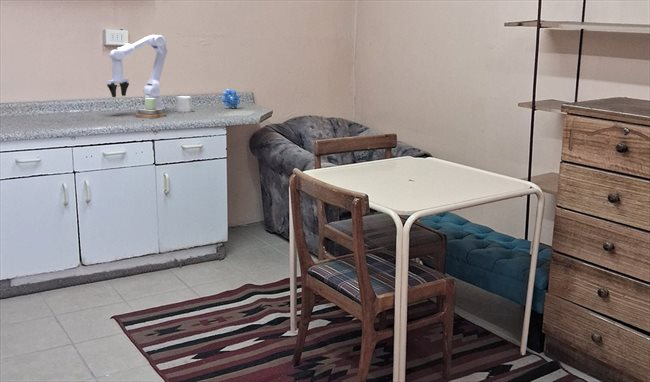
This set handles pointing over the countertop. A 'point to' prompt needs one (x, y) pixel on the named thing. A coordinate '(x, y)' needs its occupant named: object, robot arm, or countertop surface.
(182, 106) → the medicine box
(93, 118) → the countertop surface
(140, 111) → the tower top
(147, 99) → the green block
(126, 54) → the robot arm
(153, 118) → the tower base
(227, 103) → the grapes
